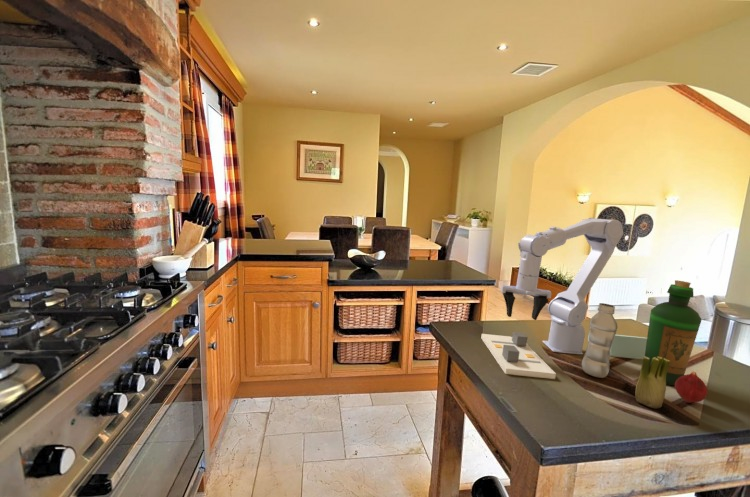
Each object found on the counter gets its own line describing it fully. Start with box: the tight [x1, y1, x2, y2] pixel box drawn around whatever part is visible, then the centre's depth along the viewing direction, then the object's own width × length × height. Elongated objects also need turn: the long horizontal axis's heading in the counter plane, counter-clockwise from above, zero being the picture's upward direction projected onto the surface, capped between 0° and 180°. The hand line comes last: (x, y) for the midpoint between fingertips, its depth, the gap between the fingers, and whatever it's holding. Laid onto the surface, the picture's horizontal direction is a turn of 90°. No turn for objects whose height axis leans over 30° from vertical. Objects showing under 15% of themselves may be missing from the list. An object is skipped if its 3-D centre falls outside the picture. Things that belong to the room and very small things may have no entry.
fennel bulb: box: [634, 356, 670, 410], centre depth 81 cm, size 6×5×12 cm
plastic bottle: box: [581, 303, 619, 379], centre depth 93 cm, size 6×7×20 cm
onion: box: [674, 370, 708, 404], centre depth 83 cm, size 6×6×8 cm
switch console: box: [480, 333, 557, 380], centre depth 102 cm, size 13×24×2 cm, turn 178°
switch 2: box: [511, 330, 528, 346], centre depth 107 cm, size 3×4×3 cm
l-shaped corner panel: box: [587, 334, 647, 360], centre depth 114 cm, size 12×12×8 cm
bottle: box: [645, 280, 702, 386], centre depth 94 cm, size 11×11×28 cm
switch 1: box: [502, 345, 519, 362], centre depth 96 cm, size 3×4×3 cm
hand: (521, 317), depth 106 cm, fingers open, 7 cm apart
